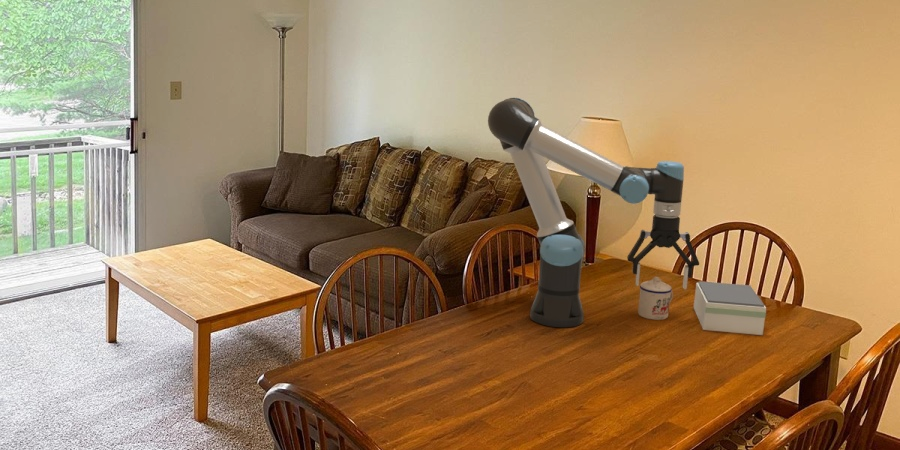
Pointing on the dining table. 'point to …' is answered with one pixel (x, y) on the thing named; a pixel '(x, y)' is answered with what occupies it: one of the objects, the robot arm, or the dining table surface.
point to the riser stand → (729, 308)
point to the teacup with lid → (654, 299)
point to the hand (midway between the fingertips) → (660, 286)
